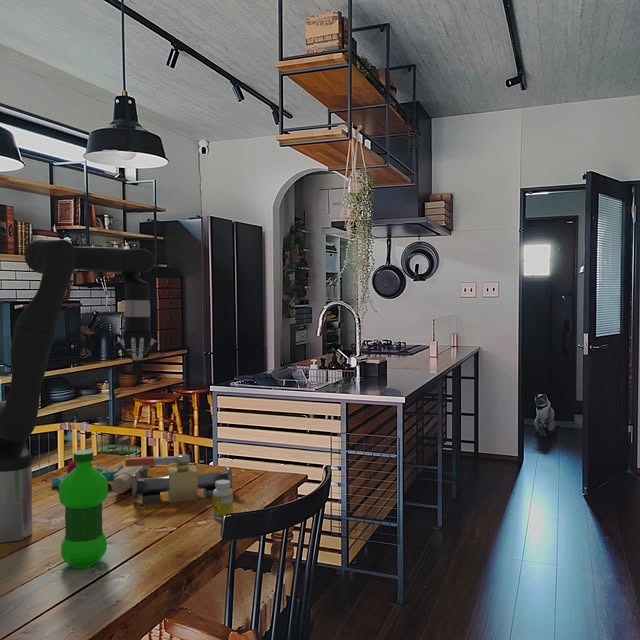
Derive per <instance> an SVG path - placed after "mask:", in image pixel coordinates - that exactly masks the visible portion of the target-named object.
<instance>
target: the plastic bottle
mask: <svg viewBox="0 0 640 640" xmlns="http://www.w3.org/2000/svg"><path fill="white" fill-rule="evenodd" d="M72 454H73V460H74V462H76V468H75V469H74V470H72V471H71V472H70V473H69V474H68V475H67V476H66V477H65V478H64V479H63V480H62V481H61V483H60V486H59V488H58V498H59V499H58V500H59V502H60V503H61V505H63V506H64V507H65V511H64V512H65V513H64V519H65V528H64V529H65V535H64V537H63V539H62V542H61V547H60V555H61V557H62V560H63V561H64V562H65V563H67V564H68V565H69V566H71V567H72V566H74V567H76V568H75V569H86V568H85V567H87V568H89V567H88V566H91V567H93V566H94V565H95V563H96V564H97V563H98V562H99V560H101V558H103V557H104V556H105V555H106V551H107V549H108V548H107V547H108V544H107V538H106V535H105V533H104V532H103V502H104V501H105V500H106V499H107V498H108V493H109V484H108V483H109V482H107V480H106V477H105V476H104V475H103V474H101V473H100V472H99V471H98V470H96V469H95V468H93V467H91V463H92V461H94V450H92V449H80V450H76V451H73V453H72ZM93 564H94V565H93ZM92 565H93V566H92ZM74 567H73V568H74Z"/></svg>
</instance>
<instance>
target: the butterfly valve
mask: <svg viewBox="0 0 640 640" xmlns="http://www.w3.org/2000/svg"><path fill="white" fill-rule="evenodd" d="M151 466H152V465H148V466H129V467H126V466H125V465H119V466H118V468H117V469H116V470H108V467H103V466H102V467H101V466H99V467H98V466H94V467H93V468H95V469H96V470H98V471H99V472H100V473H101V474H103V475H104V476H105V477H106V480H107V483H110V482H112V483H111V490H112V491H113V492H114V493H115V494H123V493H125V492H127V491H128V490H129V489H132V474H137V479H139V478H148V472H150V468H151ZM67 475H68V473H67V472H66V473H64V474H61V475H60V476H57V477H53V478H51V479H50V481H51V487H57V488H58V489H59V486H60V483H61V481H62V480H63V479H64V478H65V477H66V476H67Z"/></svg>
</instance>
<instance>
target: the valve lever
mask: <svg viewBox="0 0 640 640" xmlns="http://www.w3.org/2000/svg"><path fill="white" fill-rule="evenodd" d="M188 463H189V464H190V454H188V453H187V454H186V453H181V454H176V455H175V456H174V455H172V456H170V455H169V456H153V455H151V456H140V457H135V456H134V457H126V458H125V465H124V466H126V467H129V466H148V465H151V466H155V465H164V464H166V465H167V464H175V465H176V464H188Z"/></svg>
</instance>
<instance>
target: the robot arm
mask: <svg viewBox="0 0 640 640" xmlns="http://www.w3.org/2000/svg"><path fill="white" fill-rule="evenodd" d="M24 260H25V264H26V265H27V267H28V268H29V269H30V270H32V271H34V273H35V272H36V273H38V274H41V275H42V277H41V281H40V284H39V286H38V289H37V292H36V293H35V295H34V296H33V298H32V299H31V300H30V301H29V303H28V304H27V305H26V306H25V308H24V309H23V311H22V312H21V313H20V315H19V316H18V318H17V320H16V323H15V325H14V330H13V333H12V338H11V341H10V350H9V356H10V358H9V359H10V370H11V371H10V372H11V381H10V387H9V391H8V395H7V398H6V400H2V401H0V543H11V542H17V541H18V542H19V541H24V540H25V539H26V538H27V537H30V536H31V535H32V534H33V482H32V481H33V477H32V476H33V473H32V472H33V471H32V470H33V469H32V468H33V467H32V464H33V462H32V461H33V456H32V453H31V452H30V450H29V449H28V447H27V443H26V439H27V438H29V437H30V436H31V434H32V433H33V431H34V430H35V428H36V426H37V421H38V415H39V414H38V413H39V407H40V400H41V399H40V398H41V392H42V391H41V390H42V385H43V381H44V378H45V374H46V370H47V365H48V362H49V357H50V353H51V351H52V346H53V342H54V337H55V334H56V328H57V323H58V321H59V316H60V313H61V309H62V305H63V301H64V298H65V294H66V292H67V289H68V287H69V284H70V282H71V278H72V275H73V272H74V270H83V271H93V272H105V273H113V272H114V273H120V272H121V276H122V279H123V283H124V287H125V291H124V292H125V296H124V297H125V302H124V310H123V311H124V312H123V313H124V316H123V317H124V318H123V319H124V326H123V327H124V329H123V330H124V332H123V335H122V338H121V339H119V340H118V341H116V343H115V346H116V347H117V348H118V349H119V350H120V351H121V353H122V354H123V355H124V356H125V358H127V359H129V360H132V367H131V368H132V371H133V372H134V373H140V372H141V371H142V370H143V360H145V359H147V358H149V357H150V355H151V354H152V353H153V352H154V351H155V349H156V348H157V347H158V346H159V341H158V340H155V339H154V338H153V336H152V334H151V333H152V332H151V304H150V284H149V282H147V281H146V280H142V279H141V278H140V274H139V273H141V274H142V273H149V272H151V270H152V269H153V268H155V265H156V257H155V255H154V253H153V252H151V251H150V250H149V249H146V248H120V247H108V246H74V245H73V243H72V242H70V241H69V240H67V239H61V238H46V237H45V238H38V239H35V240H33V241H31V242H30V243H28V245H26V249H25V251H24ZM125 343H126V345H127V346H128V347H129V348H130V349H131V353H130V352H129V351H128V350H127V349H126V347H125ZM148 344H149V345H150V347H149V348H148V350H146V352H145V353H144V349H145V348H146V347H147V345H148ZM137 349H138V353H137ZM137 354H138V357H137Z"/></svg>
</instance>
